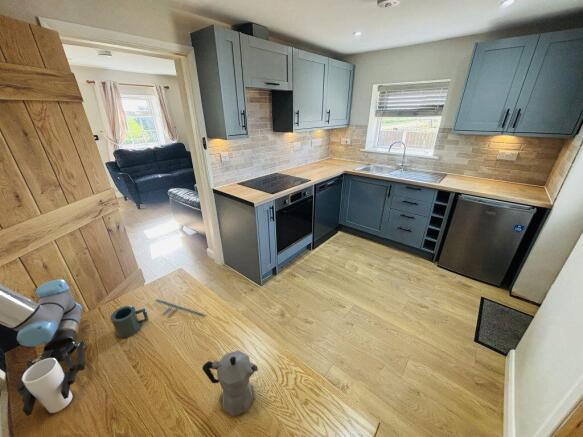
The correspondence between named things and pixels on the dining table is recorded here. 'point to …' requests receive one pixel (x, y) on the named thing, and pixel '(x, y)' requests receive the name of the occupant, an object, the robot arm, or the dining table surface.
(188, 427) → the dining table surface
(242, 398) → the coffeepot
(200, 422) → the dining table surface
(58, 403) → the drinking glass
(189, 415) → the dining table surface
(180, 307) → the grey pronged rod
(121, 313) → the mug
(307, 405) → the dining table surface
